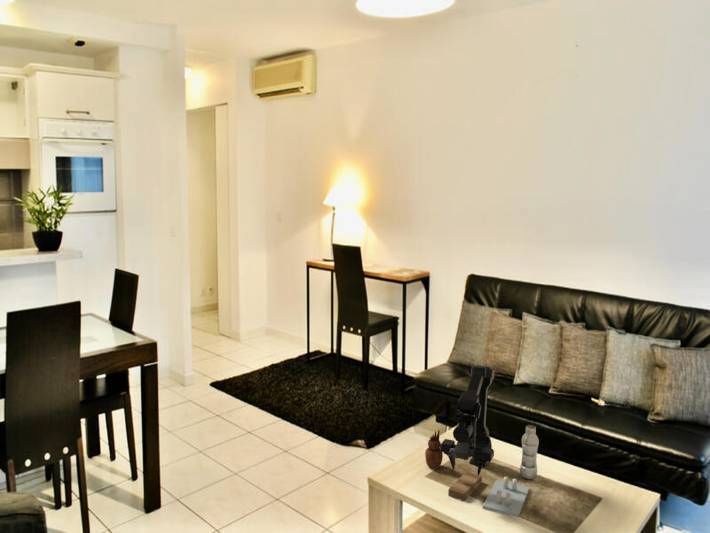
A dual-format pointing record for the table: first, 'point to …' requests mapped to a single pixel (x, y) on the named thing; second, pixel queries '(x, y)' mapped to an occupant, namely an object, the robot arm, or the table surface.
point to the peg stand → (506, 497)
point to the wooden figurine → (434, 452)
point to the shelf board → (465, 486)
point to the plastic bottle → (529, 453)
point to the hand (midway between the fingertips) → (466, 472)
